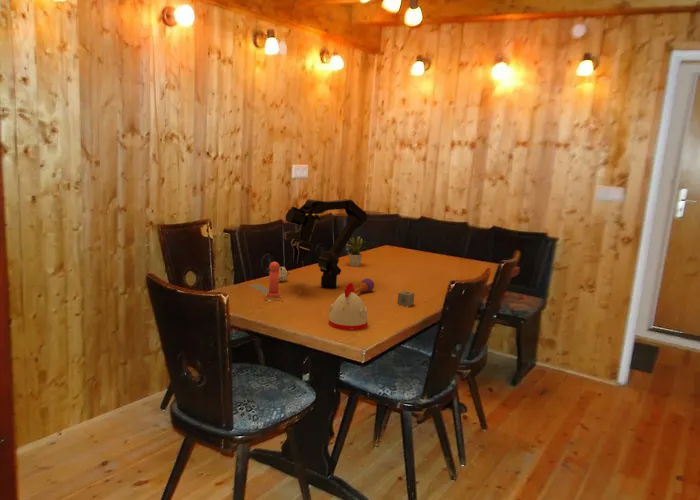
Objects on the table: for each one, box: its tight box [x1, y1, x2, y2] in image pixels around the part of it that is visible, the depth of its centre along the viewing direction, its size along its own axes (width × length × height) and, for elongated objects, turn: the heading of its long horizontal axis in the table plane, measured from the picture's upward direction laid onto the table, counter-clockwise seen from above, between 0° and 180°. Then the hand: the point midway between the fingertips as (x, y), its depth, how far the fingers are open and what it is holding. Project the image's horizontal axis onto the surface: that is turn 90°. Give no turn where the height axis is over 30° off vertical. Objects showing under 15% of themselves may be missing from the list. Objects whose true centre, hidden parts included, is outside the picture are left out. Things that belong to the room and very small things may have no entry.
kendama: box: [354, 277, 375, 295], centre depth 244 cm, size 6×6×20 cm
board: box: [248, 283, 283, 303], centre depth 238 cm, size 27×9×1 cm, turn 32°
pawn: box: [266, 261, 282, 299], centre depth 229 cm, size 6×6×14 cm
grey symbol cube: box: [397, 290, 416, 308], centre depth 232 cm, size 5×5×5 cm
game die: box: [279, 265, 291, 283], centre depth 256 cm, size 9×8×10 cm
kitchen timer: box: [328, 282, 368, 331], centre depth 201 cm, size 14×14×15 cm
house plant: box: [346, 236, 368, 267], centre depth 304 cm, size 14×14×16 cm
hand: (296, 263), depth 241 cm, fingers open, 9 cm apart
